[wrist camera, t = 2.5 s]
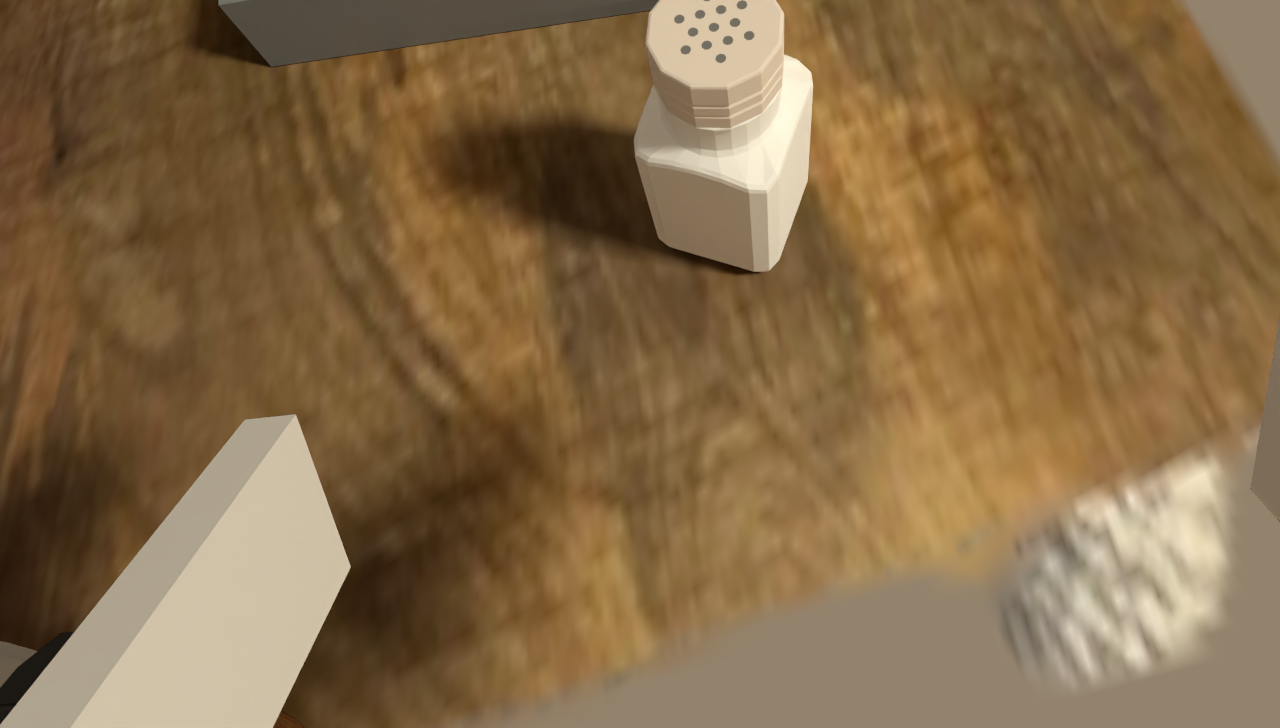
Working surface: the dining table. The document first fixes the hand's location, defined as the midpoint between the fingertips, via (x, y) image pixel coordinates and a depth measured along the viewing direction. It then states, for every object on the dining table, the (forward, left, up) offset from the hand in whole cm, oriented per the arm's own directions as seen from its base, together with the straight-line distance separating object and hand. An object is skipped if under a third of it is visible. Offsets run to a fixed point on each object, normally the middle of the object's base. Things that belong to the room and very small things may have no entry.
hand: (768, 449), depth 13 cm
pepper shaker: (0, +11, -15) cm, 19 cm away
